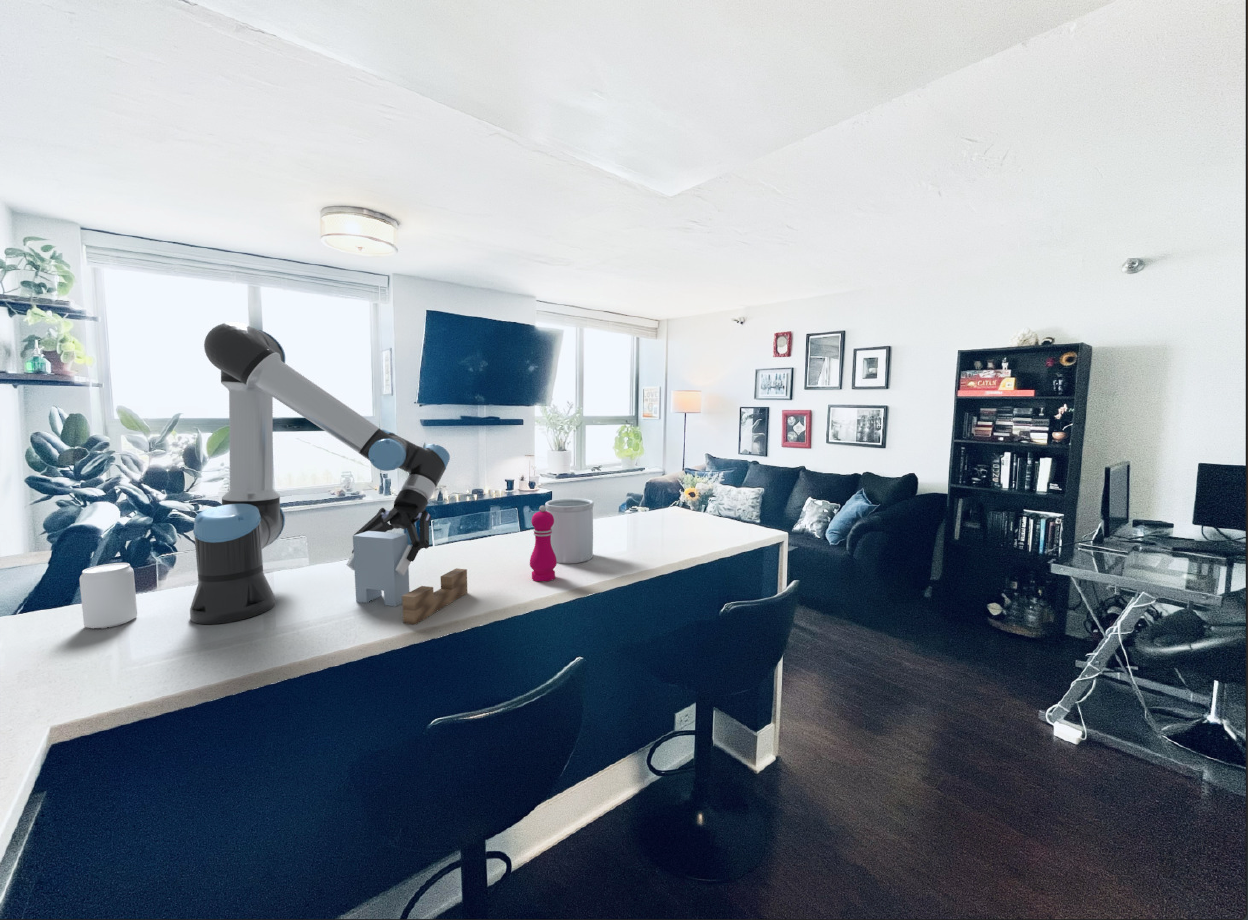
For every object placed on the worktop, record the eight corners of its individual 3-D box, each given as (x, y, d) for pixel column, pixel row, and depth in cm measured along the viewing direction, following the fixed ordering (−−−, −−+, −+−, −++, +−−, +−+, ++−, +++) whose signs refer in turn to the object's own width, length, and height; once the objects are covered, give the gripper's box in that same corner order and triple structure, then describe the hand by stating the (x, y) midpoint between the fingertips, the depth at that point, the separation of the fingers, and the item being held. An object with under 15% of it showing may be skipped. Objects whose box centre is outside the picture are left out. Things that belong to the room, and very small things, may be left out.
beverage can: (145, 613, 115) (140, 560, 114) (125, 627, 108) (120, 571, 107) (98, 618, 112) (92, 564, 111) (74, 633, 105) (69, 575, 104)
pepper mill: (538, 584, 135) (537, 509, 134) (525, 577, 141) (524, 505, 139) (561, 578, 140) (561, 506, 138) (547, 572, 146) (547, 502, 144)
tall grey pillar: (356, 601, 123) (352, 535, 121) (371, 594, 127) (368, 530, 126) (395, 606, 120) (392, 538, 118) (409, 598, 125) (407, 533, 123)
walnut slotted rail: (415, 624, 110) (414, 597, 109) (403, 623, 111) (402, 595, 110) (467, 592, 129) (466, 569, 128) (456, 591, 130) (456, 568, 129)
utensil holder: (544, 565, 152) (543, 506, 151) (547, 551, 167) (546, 497, 166) (594, 564, 154) (594, 505, 152) (593, 550, 168) (593, 497, 167)
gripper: (463, 507, 133) (428, 582, 120) (381, 502, 140) (340, 573, 127) (450, 489, 128) (413, 566, 115) (366, 485, 134) (321, 557, 121)
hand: (374, 570), depth 121 cm, fingers open, 13 cm apart
